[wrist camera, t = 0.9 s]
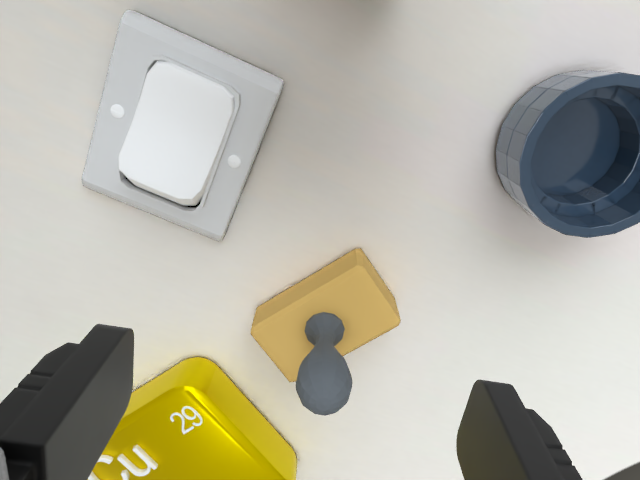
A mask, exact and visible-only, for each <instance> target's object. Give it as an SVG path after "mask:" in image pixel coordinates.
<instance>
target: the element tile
mask: <svg viewBox="0 0 640 480" xmlns="http://www.w3.org/2000/svg"><path fill="white" fill-rule="evenodd" d="M296 469H297V458H296V455H295V452H294V451H293V449H292V448H291V447H290V445H289V444H288V443H287V442H286V441H285V440H284V439H283V438H282V437H281V435H280V434H279V433H278V432H277V431H276V430H275V429H274V428H273V427H272V425H271V424H270V423H269V422H268V421H267V420H266V419H265V418H264V417H263V416H262V414H261V413H260V412H259V411H258V410H257V409H256V408H255V407H254V406H253V404H252V403H251V402H250V401H249V400H248V399H247V398H246V397H245V396H244V395H243V393H242V392H241V391H240V390H239V389H238V388H237V387H236V386H235V385H234V383H233V382H232V381H231V380H230V379H229V378H228V377H227V376H226V375H225V373H224V372H223V371H222V370H221V369H220V368H219V367H218V366H217V365H216V364H215V363H213V362H212V361H210V360H208V359H206V358H201V357H193V358H188V359H186V360H184V361H182V362H180V363H179V364H177V365H175V366H174V367H172V368H171V369H169V370H167V371H166V372H164V373H163V374H161V375H159V376H158V377H156V378H155V379H153V380H152V381H150V382H148V383H147V384H145V385H144V386H142V387H140V388H139V389H137V390H136V391H134V392H132V393H131V397H130V401H129V404H128V407H127V409H126V411H125V413H124V415H123V417H122V419H121V421H120V422H119V424H118V426H117V428H116V429H115V431H114V433H113V435H112V437H111V438H110V440H109V442H108V444H107V445H106V447H105V449H104V451H103V453H102V454H101V456H100V458H99V460H98V461H97V463H96V465H95V467H94V469H93V470H92V472H91V474H90V476H89V477H88V479H87V480H296Z"/></svg>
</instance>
